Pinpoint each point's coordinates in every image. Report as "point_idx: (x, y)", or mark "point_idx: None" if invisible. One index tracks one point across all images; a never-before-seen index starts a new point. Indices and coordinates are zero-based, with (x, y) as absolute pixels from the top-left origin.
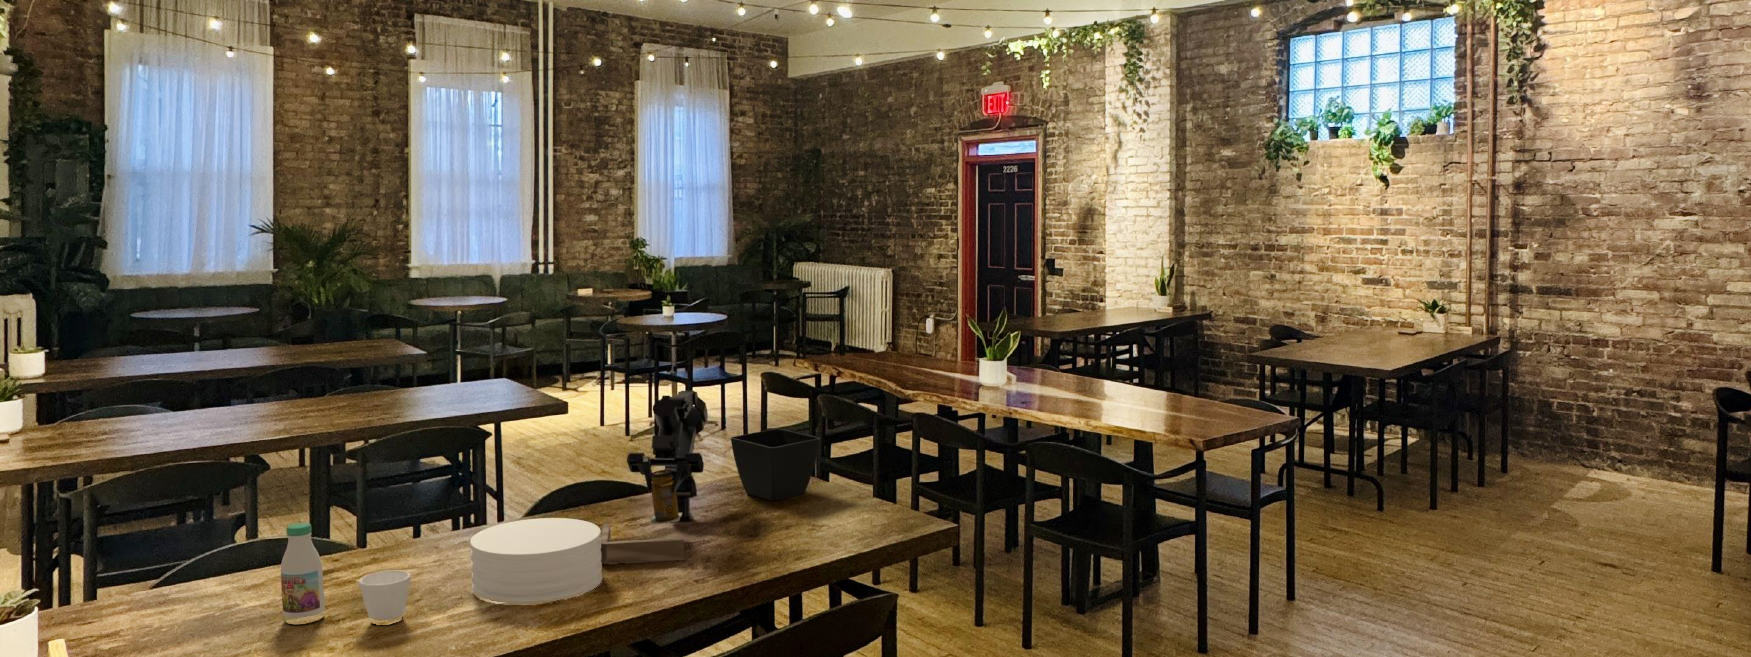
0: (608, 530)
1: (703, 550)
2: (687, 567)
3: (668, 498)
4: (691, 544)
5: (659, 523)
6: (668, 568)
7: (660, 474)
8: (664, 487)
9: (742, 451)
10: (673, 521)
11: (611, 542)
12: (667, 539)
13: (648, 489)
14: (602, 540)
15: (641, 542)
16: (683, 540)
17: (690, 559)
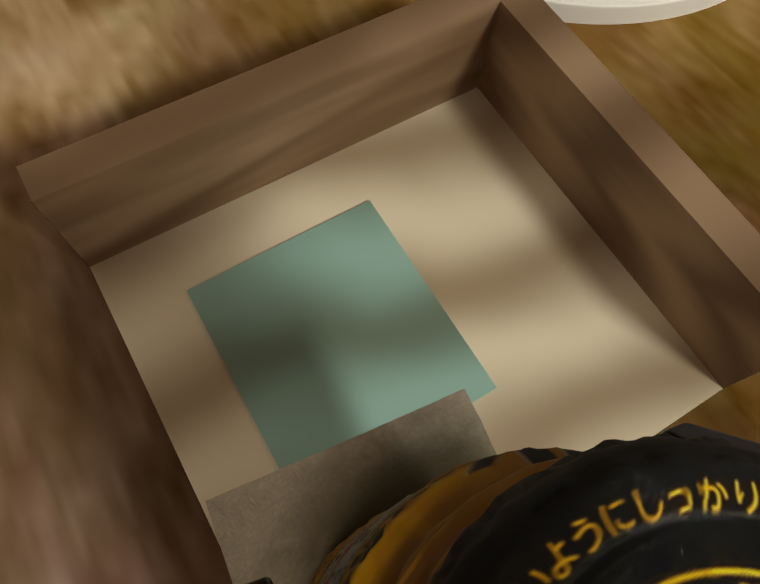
0: (673, 193)
1: (18, 461)
2: (17, 145)
3: (346, 550)
4: (161, 567)
5: (385, 430)
6: (118, 106)
7: (592, 484)
8: (409, 505)
9: None
10: (262, 489)
11: (469, 2)
12: (142, 139)
13: (685, 430)
14: (547, 17)
15: (292, 53)
16: (21, 167)
17: (47, 265)
